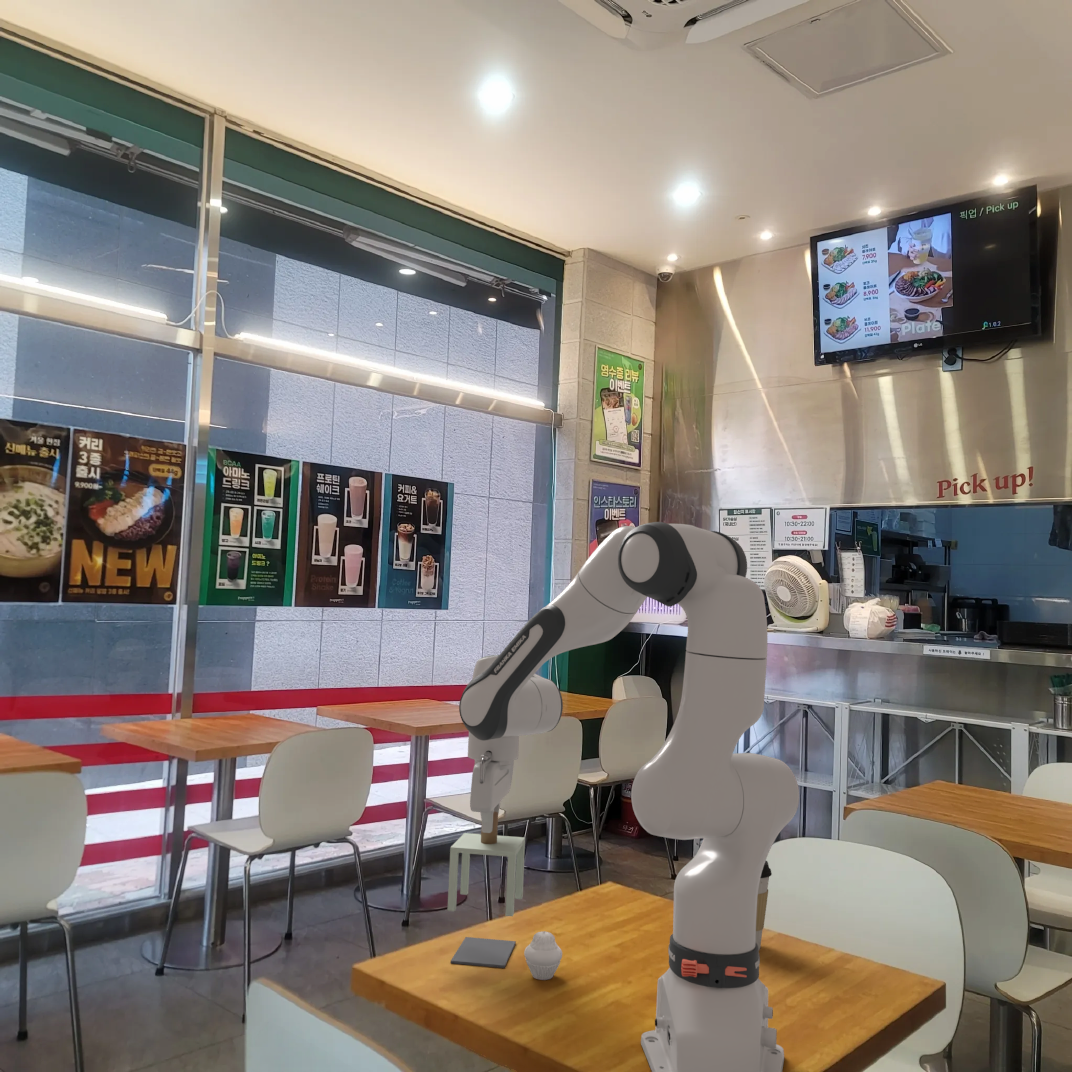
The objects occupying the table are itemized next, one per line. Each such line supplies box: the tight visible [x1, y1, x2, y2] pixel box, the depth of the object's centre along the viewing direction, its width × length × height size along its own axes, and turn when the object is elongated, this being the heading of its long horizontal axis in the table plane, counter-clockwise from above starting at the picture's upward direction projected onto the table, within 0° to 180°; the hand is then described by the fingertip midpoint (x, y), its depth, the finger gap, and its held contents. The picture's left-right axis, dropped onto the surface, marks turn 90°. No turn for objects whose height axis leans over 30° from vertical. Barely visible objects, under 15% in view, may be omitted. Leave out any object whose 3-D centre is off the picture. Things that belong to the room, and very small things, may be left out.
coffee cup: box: [756, 860, 773, 951], centre depth 166 cm, size 10×10×15 cm
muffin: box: [523, 931, 563, 981], centre depth 148 cm, size 6×6×7 cm
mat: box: [450, 936, 517, 969], centre depth 157 cm, size 12×9×1 cm
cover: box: [447, 811, 526, 917], centre depth 158 cm, size 11×11×15 cm
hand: (489, 829), depth 159 cm, fingers closed on cover, 3 cm apart
